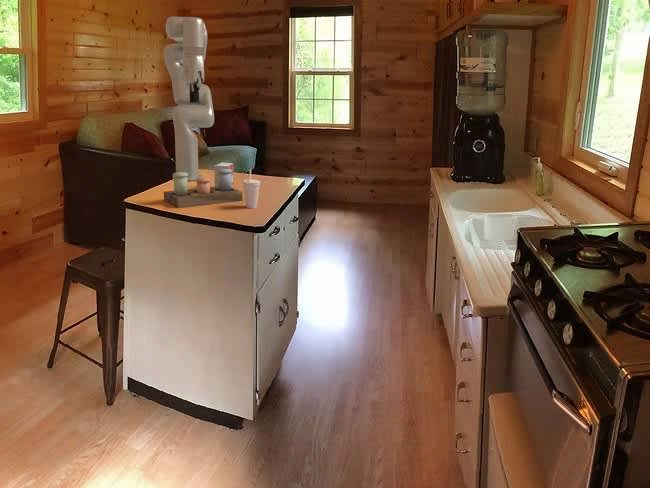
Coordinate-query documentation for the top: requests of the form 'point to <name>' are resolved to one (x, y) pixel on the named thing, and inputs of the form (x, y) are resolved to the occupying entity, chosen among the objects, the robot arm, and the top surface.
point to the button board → (202, 197)
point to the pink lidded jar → (203, 185)
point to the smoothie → (251, 192)
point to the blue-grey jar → (224, 179)
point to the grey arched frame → (224, 166)
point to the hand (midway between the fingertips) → (194, 102)
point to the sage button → (180, 184)
